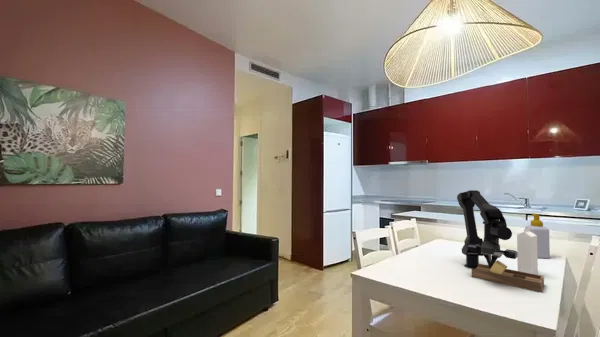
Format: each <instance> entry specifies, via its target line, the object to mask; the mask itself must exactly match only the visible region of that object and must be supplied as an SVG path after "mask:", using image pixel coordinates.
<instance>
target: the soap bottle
mask: <svg viewBox="0 0 600 337" xmlns="http://www.w3.org/2000/svg"><path fill="white" fill-rule="evenodd" d="M531 215H532V216H533V219H532V220H530V224H528V225H526V226H524V227H525V228H524V229H527V228H530V232H532V233H534V234H535V235H537V259H550V252H551V251H550V248H551V246H550V229H549V228H547V227H546V226H544V222H543V221H542V220H540V214H539V213H531Z"/></svg>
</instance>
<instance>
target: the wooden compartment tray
mask: <svg viewBox="0 0 600 337" xmlns="http://www.w3.org/2000/svg"><path fill="white" fill-rule="evenodd" d="M489 270H490V268H489V265H488V264H483V263H479V264H478V267H477V268H476V269H475V268H471V278H475V279H479V280H484V281H488V282H493V283H496V284H499V285H500V284H501V285H506V286H509V287H515V288H518V289H523V290H527V291H533V292H536V293H540V292H541V293H543V292H542V291H543V288H544V286H545V276H544V275H541V274H538V275H536V274H530V273H525V272H520V271H518V270H514V269H509V268H506V269H505V271H504V272H503V274H502V275H501V274H496V273H492V272H491V271H489Z"/></svg>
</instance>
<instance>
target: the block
mask: <svg viewBox="0 0 600 337" xmlns="http://www.w3.org/2000/svg"><path fill="white" fill-rule="evenodd" d="M505 269H508V265H506V264H505V263H503V262H501V261H500V260H498V259H497V260H496V262H495V263H494V264H493V266H492V267H491V269H490V270H489V271H491V272H492V273H496V274H501V275H502V274H503V272H504V271H505Z"/></svg>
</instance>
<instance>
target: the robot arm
mask: <svg viewBox="0 0 600 337" xmlns="http://www.w3.org/2000/svg"><path fill="white" fill-rule="evenodd" d="M456 200H457V201H458V206H460V207H461V209H462V211H463V212H462V213H463V219H464V225H465V230H466V237H465V239H464V245H463V246H462V248H461V254H463V255H464V256H465V258H466V259H465V262H466V263H465V264H463V267H467V268H470V269H476V268H477V267H478V264H480V261H479V260H480V257H484V258H485V260H486V262H487V265H489V268H490V269H491V267H492V266H493V264H494V263H495V262H496V261H497V260H498V259H499V258H501V257H502V256H503V257H505V258H507V259H512V260H516V259H517V250H514V249H510V248H509V249H508V248H507V249H505V250H503V249H501V245H500V240H502V241H508V240H510V239H512V236H513V231H512V230H511V229H510V228H509V227H508V226H507V225H508V224H507V219H506V218H505V217H504V215H503V211H502V210H501V209H499V207H497V206H495V205H493V204H490V203H489V202H488V200H486V198H485V197H484V196H483V195H482V194H481V191H479V190H477V189H476V190H475V189H474V190H471V189H469V190H467V191H464V192H459V194H457V195H456ZM475 206H476V207H477V208H478V209H479V210H480V212H479V215H480V217H481V218H482V220H483V221H482V224H483V232H484V233H483V238H481V237H480V236H478V230H477V224H476V218H475V212H474V208H475Z"/></svg>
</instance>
